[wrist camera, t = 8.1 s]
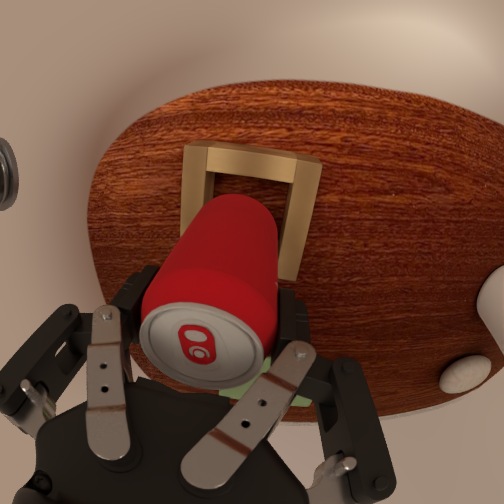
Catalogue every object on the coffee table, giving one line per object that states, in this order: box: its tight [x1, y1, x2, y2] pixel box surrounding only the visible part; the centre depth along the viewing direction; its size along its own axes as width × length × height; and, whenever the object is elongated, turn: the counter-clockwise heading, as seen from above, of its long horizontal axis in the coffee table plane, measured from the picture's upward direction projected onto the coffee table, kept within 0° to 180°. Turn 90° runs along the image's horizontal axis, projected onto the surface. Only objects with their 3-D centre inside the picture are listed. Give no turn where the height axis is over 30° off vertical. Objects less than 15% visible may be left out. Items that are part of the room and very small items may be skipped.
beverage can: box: [139, 194, 278, 390], centre depth 16 cm, size 6×6×12 cm
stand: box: [180, 140, 322, 281], centre depth 25 cm, size 11×11×4 cm
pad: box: [219, 356, 312, 407], centre depth 40 cm, size 16×13×1 cm
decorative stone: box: [439, 355, 491, 393], centre depth 34 cm, size 13×9×5 cm
